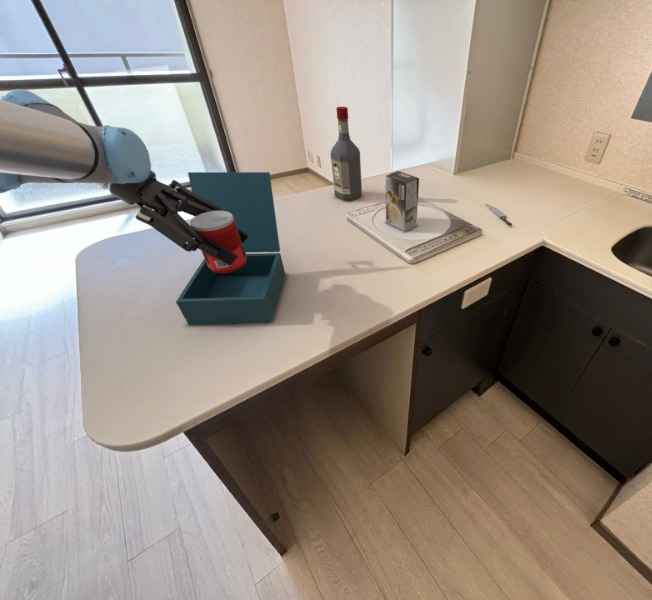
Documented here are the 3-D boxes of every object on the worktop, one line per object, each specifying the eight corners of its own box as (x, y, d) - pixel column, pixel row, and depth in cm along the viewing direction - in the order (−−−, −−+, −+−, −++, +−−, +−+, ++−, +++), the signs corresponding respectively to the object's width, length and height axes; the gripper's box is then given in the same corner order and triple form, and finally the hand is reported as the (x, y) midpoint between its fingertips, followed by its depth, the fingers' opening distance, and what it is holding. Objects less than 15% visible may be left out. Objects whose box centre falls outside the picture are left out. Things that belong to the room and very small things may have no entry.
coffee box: (417, 225, 109) (420, 177, 99) (404, 232, 106) (407, 183, 95) (397, 216, 114) (398, 170, 103) (384, 222, 110) (384, 175, 100)
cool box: (271, 322, 73) (264, 298, 69) (188, 325, 72) (175, 301, 67) (285, 275, 86) (280, 253, 82) (216, 276, 85) (206, 254, 80)
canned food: (254, 261, 74) (240, 216, 66) (223, 278, 68) (204, 232, 61) (233, 250, 77) (217, 206, 69) (201, 266, 71) (181, 221, 64)
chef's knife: (491, 203, 125) (484, 203, 124) (492, 200, 124) (485, 201, 123) (516, 226, 111) (509, 227, 110) (518, 223, 110) (510, 224, 109)
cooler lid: (268, 172, 75) (274, 172, 79) (187, 172, 73) (197, 172, 77) (279, 251, 81) (283, 248, 86) (205, 253, 80) (213, 249, 84)
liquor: (350, 189, 131) (344, 103, 111) (365, 196, 126) (361, 108, 106) (331, 195, 126) (322, 107, 106) (347, 203, 121) (339, 112, 101)
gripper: (141, 170, 68) (243, 236, 80) (76, 215, 52) (215, 289, 64) (157, 143, 65) (260, 216, 77) (92, 182, 49) (234, 267, 61)
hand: (239, 249), depth 70 cm, fingers closed on canned food, 8 cm apart
